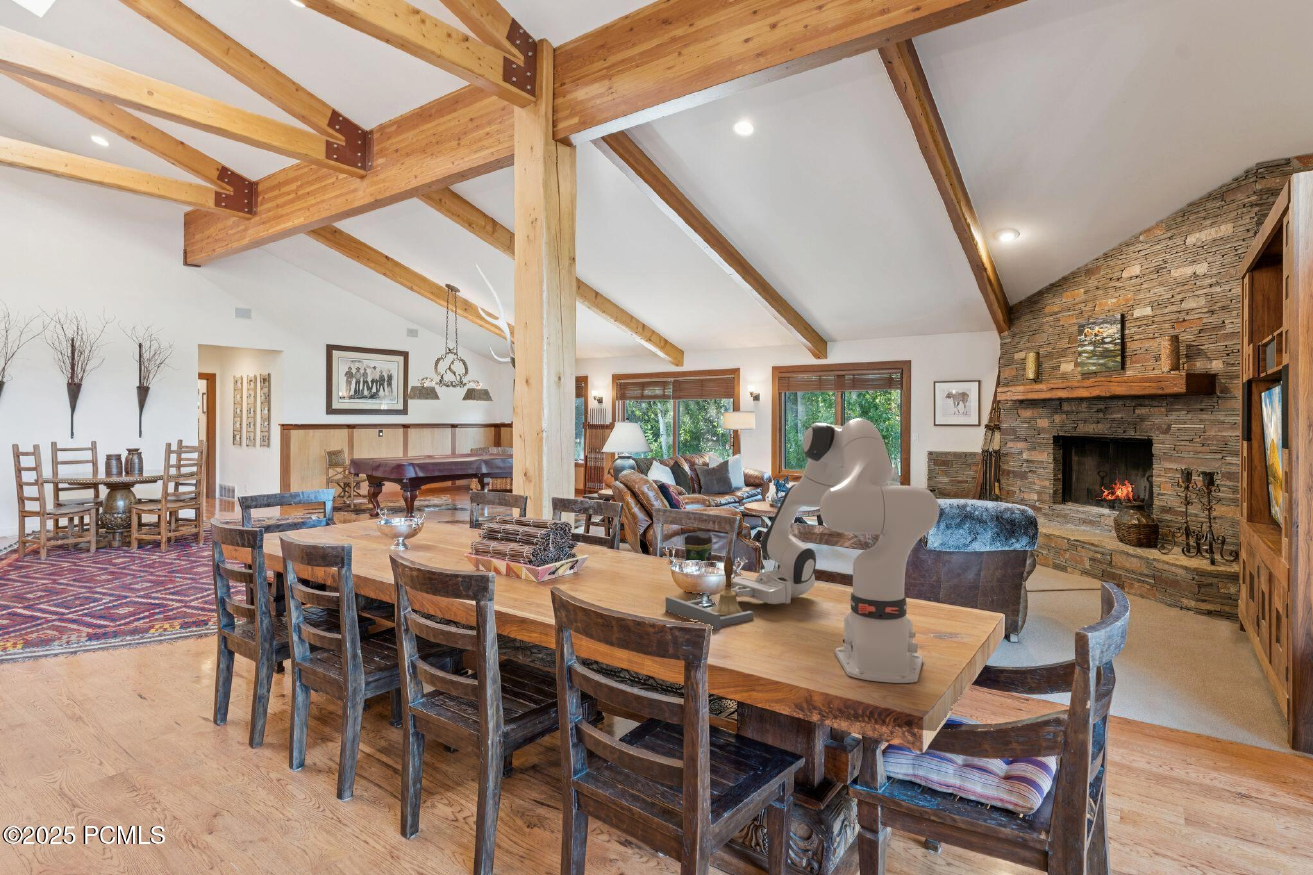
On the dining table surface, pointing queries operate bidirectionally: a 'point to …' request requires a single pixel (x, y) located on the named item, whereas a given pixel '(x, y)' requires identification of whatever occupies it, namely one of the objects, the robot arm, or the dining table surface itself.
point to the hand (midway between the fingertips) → (734, 593)
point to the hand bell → (728, 593)
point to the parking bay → (704, 613)
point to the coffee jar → (698, 546)
